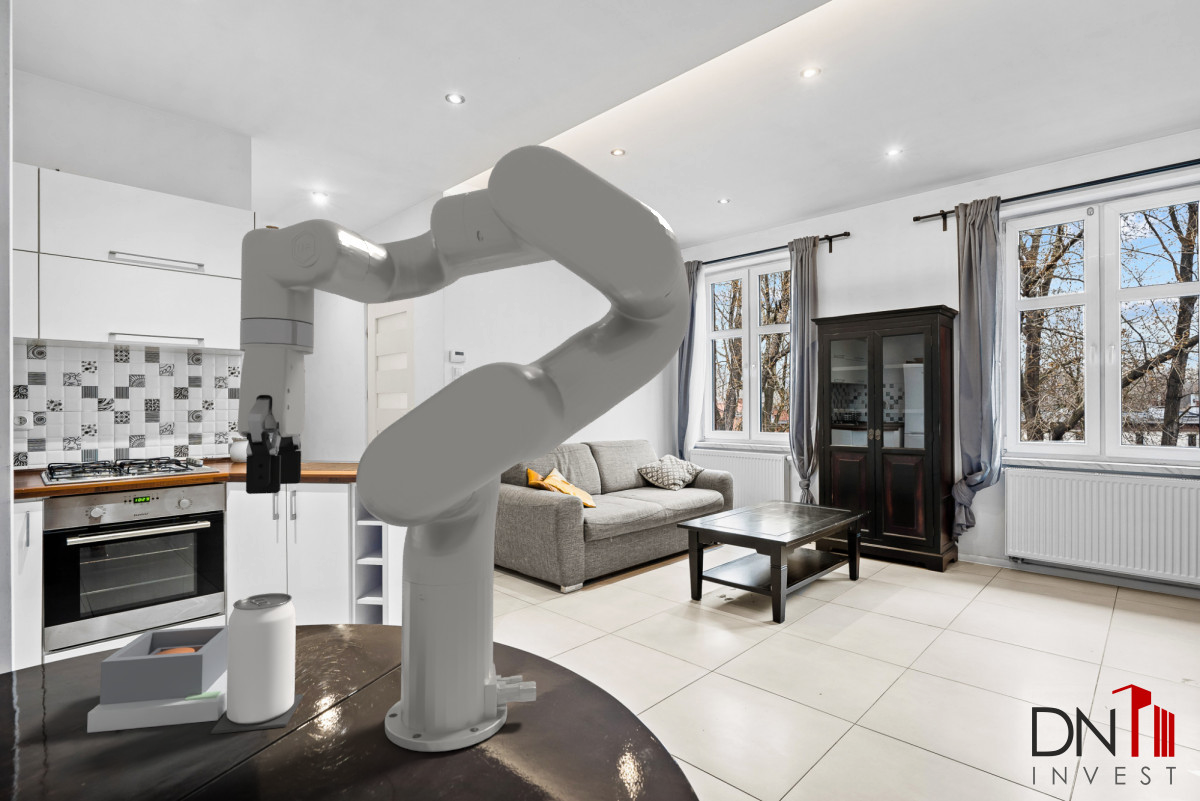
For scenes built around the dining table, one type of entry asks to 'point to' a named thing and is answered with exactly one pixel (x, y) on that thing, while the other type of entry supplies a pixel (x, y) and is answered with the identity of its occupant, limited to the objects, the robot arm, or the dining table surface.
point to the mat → (282, 721)
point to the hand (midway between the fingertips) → (275, 488)
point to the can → (261, 658)
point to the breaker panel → (163, 680)
